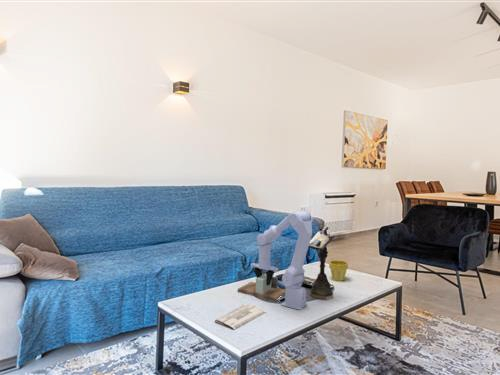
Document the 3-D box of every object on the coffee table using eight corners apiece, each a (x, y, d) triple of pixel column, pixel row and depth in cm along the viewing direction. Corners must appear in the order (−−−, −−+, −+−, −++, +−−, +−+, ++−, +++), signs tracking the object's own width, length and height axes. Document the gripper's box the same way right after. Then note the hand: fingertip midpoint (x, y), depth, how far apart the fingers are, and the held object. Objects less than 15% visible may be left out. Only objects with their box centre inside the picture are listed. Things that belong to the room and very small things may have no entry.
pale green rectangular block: (271, 288, 183) (271, 275, 182) (262, 294, 175) (262, 280, 175) (264, 287, 185) (264, 273, 184) (255, 292, 177) (255, 278, 177)
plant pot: (325, 277, 208) (325, 260, 207) (341, 275, 211) (341, 259, 210) (334, 282, 198) (335, 265, 198) (350, 281, 201) (351, 264, 201)
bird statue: (316, 305, 167) (319, 230, 164) (297, 296, 178) (299, 226, 175) (340, 298, 176) (343, 227, 174) (321, 289, 187) (324, 223, 184)
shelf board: (288, 293, 182) (288, 279, 181) (276, 301, 171) (276, 286, 170) (251, 284, 193) (251, 271, 193) (237, 291, 182) (238, 278, 182)
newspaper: (244, 306, 166) (245, 301, 165) (265, 316, 158) (266, 311, 158) (209, 322, 148) (210, 317, 148) (232, 335, 140) (232, 329, 140)
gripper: (281, 257, 179) (280, 284, 180) (256, 253, 186) (255, 278, 187) (274, 261, 173) (273, 288, 174) (249, 256, 180) (248, 282, 181)
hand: (263, 283), depth 180 cm, fingers open, 5 cm apart
